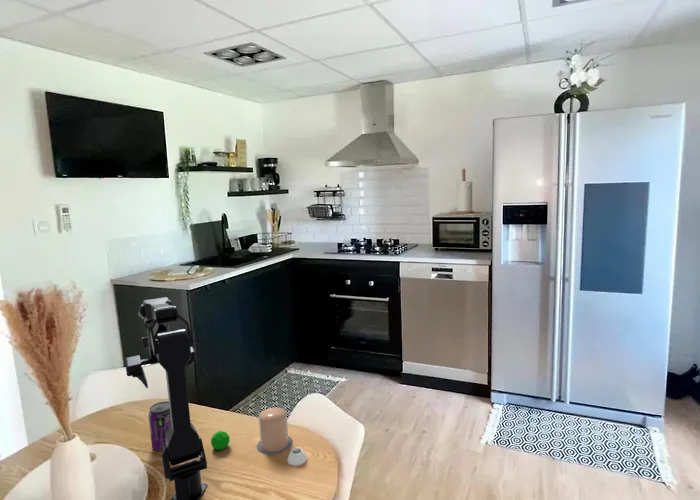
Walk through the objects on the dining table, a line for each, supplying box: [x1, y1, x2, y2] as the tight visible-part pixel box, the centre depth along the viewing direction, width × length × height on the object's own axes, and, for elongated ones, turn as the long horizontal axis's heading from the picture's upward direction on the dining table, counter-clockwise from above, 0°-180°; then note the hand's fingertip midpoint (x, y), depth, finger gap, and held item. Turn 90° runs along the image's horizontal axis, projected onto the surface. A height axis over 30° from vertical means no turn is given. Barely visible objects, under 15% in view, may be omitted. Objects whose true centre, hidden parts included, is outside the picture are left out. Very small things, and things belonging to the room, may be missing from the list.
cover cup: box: [258, 406, 289, 452], centre depth 123 cm, size 7×7×9 cm
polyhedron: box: [210, 430, 231, 451], centre depth 123 cm, size 5×5×5 cm
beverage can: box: [148, 400, 171, 451], centre depth 125 cm, size 7×7×12 cm
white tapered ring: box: [286, 447, 308, 467], centre depth 116 cm, size 5×3×5 cm
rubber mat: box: [256, 435, 293, 456], centre depth 124 cm, size 10×10×1 cm
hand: (163, 383), depth 131 cm, fingers open, 9 cm apart
